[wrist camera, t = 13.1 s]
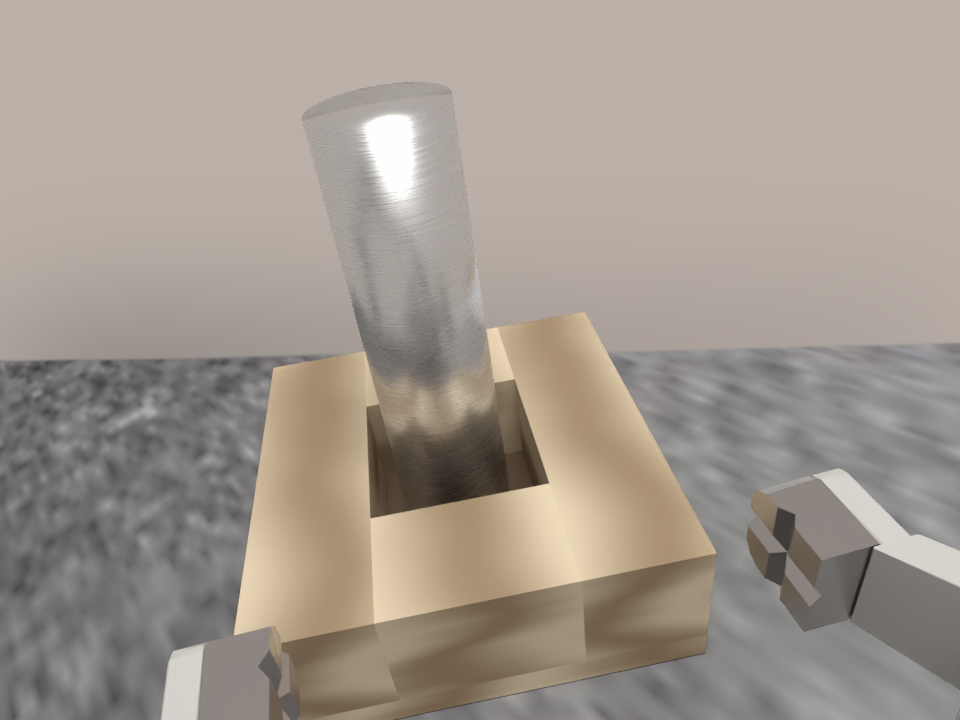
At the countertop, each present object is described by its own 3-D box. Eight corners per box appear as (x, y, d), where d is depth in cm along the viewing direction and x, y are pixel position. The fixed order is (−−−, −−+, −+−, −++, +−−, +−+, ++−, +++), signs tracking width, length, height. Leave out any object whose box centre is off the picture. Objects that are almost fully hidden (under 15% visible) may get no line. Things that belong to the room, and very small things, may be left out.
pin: (416, 567, 26) (297, 140, 17) (409, 490, 30) (305, 98, 20) (522, 544, 26) (461, 111, 17) (502, 471, 30) (442, 74, 21)
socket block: (280, 743, 23) (231, 652, 20) (302, 452, 34) (273, 367, 31) (705, 652, 23) (716, 553, 21) (587, 398, 35) (584, 311, 32)
